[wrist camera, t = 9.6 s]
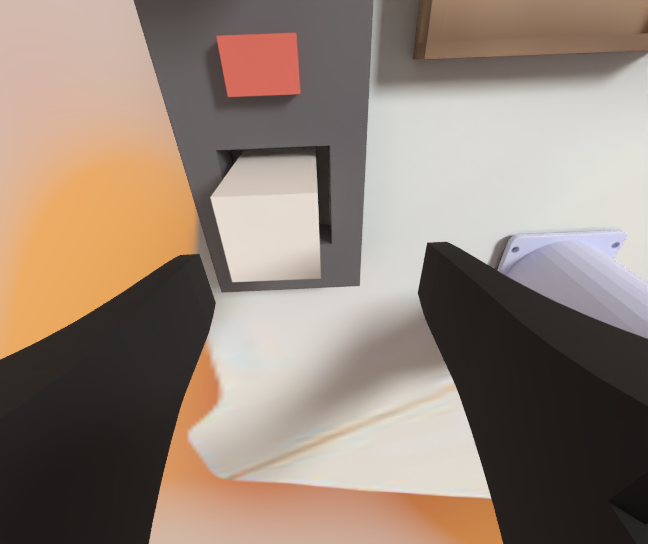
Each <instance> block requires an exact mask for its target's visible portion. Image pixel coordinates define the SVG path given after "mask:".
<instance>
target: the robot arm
mask: <svg viewBox="0 0 648 544" xmlns="http://www.w3.org/2000/svg"><path fill="white" fill-rule="evenodd" d="M626 238H627V233H626V232H624V231H622V230H608V231H586V232H564V233H542V234H521V235H514V236H512V237H511V238H510V239H509V240H508V242H507V245H506V248H505V250H504V253H503V256H502V258H501V261H500V264H499V266H498V269H497V270H495V269H494V268H492V267H490V266H489V265H487V264H485V263H483V262H482V261H480V260H478V259H477V258H475V257H473V256H472V255H470V254H468V253H467V252H465V251H463V250H461V249H460V248H458V247H456V246H454V245H452V244H450V243H448V242H433V243H427V247H426V253H425V258H424V263H423V269H422V274H421V279H420V285H419V290H418V295H419V299H420V302H421V306H422V309H423V313H424V316H425V319H426V321H427V324H428V326H429V328H430V330H431V333H432V335H433V337H434V339H435V341H436V344H437V346H438V348H439V350H440V352H441V354H442V357H443V359H444V361H445V363H446V365H447V367H448V370H449V372H450V374H451V376H452V378H453V381H454V383H455V385H456V388H457V390H458V393H459V395H460V398H461V401H462V404H463V407H464V410H465V413H466V416H467V419H468V422H469V425H470V428H471V431H472V434H473V438H474V441H475V444H476V447H477V450H478V454H479V457H480V460H481V463H482V467H483V470H484V474H485V477H486V481H487V484H488V488H489V491H490V495H491V498H492V502H493V505H494V509H495V513H496V517H497V521H498V524H499V529H500V532H501V536H502V540H503V544H648V282H647V281H646V280H644V279H643V278H641V277H640V276H638V275H637V274H635V273H634V272H632V271H631V270H629V269H628V268H626V267H625V266H623V265H622V264H620V263H619V262H617V261H616V260H614V259H613V258H614V257H615V255H616V254H617V252H618V251H619V249H620V247H621V246H622V244H623V243H624V241H625V240H626ZM514 247H516V248H515V249H513V248H514ZM512 249H513V250H512ZM215 304H216V303H215V300H214V297H213V294H212V291H211V288H210V285H209V282H208V279H207V276H206V273H205V270H204V267H203V264H202V261H201V258H200V255H199V254H192V255H180V256H178V257H176V258H174V259H172V260H171V261H169V262H167V263H166V264H164V265H163V266H161V267H159V268H158V269H157V270H155V271H154V272H152V273H151V274H149V275H148V276H146V277H145V278H143V279H142V280H140V281H139V282H137V283H136V284H134V285H133V286H131V287H130V288H128V289H127V290H126V291H124V292H122V293H121V294H119V295H118V296H116V297H114V298H113V299H111V300H110V301H108V302H107V303H105V304H103V305H102V306H100V307H99V308H97V309H95V310H94V311H92V312H90V313H89V314H87V315H86V316H84V317H82V318H80V319H79V320H77V321H75V322H74V323H72V324H70V325H68V326H67V327H65V328H63V329H61V330H59V331H57V332H55V333H53V334H52V335H50V336H48V337H46V338H44V339H42V340H40V341H39V342H36V343H34V344H32V345H31V346H28V347H26V348H24V349H22V350H20V351H18V352H16V353H14V354H11V355H9V356H7V357H5V358H3V359H1V360H0V544H149V539H150V533H151V528H152V522H153V518H154V513H155V509H156V504H157V499H158V494H159V490H160V485H161V481H162V476H163V472H164V468H165V464H166V460H167V456H168V452H169V448H170V444H171V440H172V436H173V432H174V429H175V425H176V421H177V418H178V414H179V410H180V407H181V404H182V401H183V398H184V396H185V393H186V390H187V387H188V385H189V382H190V380H191V377H192V375H193V372H194V370H195V367H196V365H197V362H198V359H199V357H200V354H201V351H202V349H203V346H204V344H205V341H206V339H207V336H208V333H209V330H210V326H211V322H212V318H213V314H214V309H215Z"/></svg>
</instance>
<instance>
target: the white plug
mask: <svg viewBox="0 0 648 544" xmlns="http://www.w3.org/2000/svg"><path fill="white" fill-rule="evenodd" d="M210 198H211V202H212V206H213V209H214V213H215V217H216V221H217V225H218V229H219V233H220V237H221V240H222V244H223V248H224V252H225V256H226V260H227V264H228V268H229V271H230V275H231V279H232V282H249V281H273V280H297V279H321V266H320V239H319V213H318V189H317V170H316V151H315V147H310V148H282V149H253V150H244V151H243V152H242V154H241V155H240V156H239V158H238V159H237V161H236V162H235V163H234V165H233V166H232V168H231V169H230V170H229V172H228V173H227V175H226V176H225V177H224V179H223V180H222V182H221V183H220V184H219V186H218V187H217V189H216V190H215V191H214V193H213V194H212V196H211V197H210Z"/></svg>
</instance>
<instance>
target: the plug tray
mask: <svg viewBox="0 0 648 544" xmlns="http://www.w3.org/2000/svg"><path fill="white" fill-rule="evenodd" d="M646 50H648V0H420V4H419V13H418V21H417V30H416V38H415V47H414V56H413V59H443V58H469V57H494V56H519V55H545V54H570V53H595V52H621V51H646Z"/></svg>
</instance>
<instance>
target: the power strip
mask: <svg viewBox="0 0 648 544" xmlns="http://www.w3.org/2000/svg"><path fill="white" fill-rule="evenodd" d="M134 3H135V6H136V10H137V13H138V16H139V19H140V23H141V26H142V29H143V33H144V36H145V39H146V43H147V46H148V50H149V53H150V56H151V59H152V63H153V66H154V69H155V73H156V76H157V79H158V83H159V86H160V89H161V93H162V96H163V99H164V102H165V106H166V109H167V112H168V116H169V119H170V123H171V126H172V129H173V133H174V136H175V139H176V142H177V146H178V149H179V152H180V156H181V159H182V162H183V166H184V169H185V172H186V176H187V179H188V182H189V186H190V189H191V192H192V195H193V199H194V202H195V206H196V209H197V212H198V216H199V219H200V222H201V225H202V229H203V232H204V235H205V239H206V242H207V245H208V249H209V252H210V255H211V259H212V262H213V265H214V269H215V272H216V275H217V279H218V282H219V285H220V289H221V292H240V291H262V290H283V289H304V288H325V287H346V286H360V266H361V245H362V224H363V203H364V183H365V162H366V141H367V120H368V99H369V79H370V58H371V37H372V16H373V0H134ZM306 146H328V166H329V210H330V225H319V239H320V266H321V279H297V280H273V281H249V282H232V279H231V275H230V271H229V268H228V264H227V260H226V256H225V252H224V248H223V244H222V240H221V237H220V233H219V229H218V225H217V221H216V217H215V213H214V209H213V206H212V202H211V198H210V197H211V196H212V194H213V193H214V191H215V190H216V189H217V187H218V186H219V184H220V183H221V182H222V180H223V179H224V177H225V176H226V175H227V173H228V172H229V170H230V169H231V168H232V166H233V162H232V158H231V153H230V150H235V149H258V148H282V147H306Z"/></svg>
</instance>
